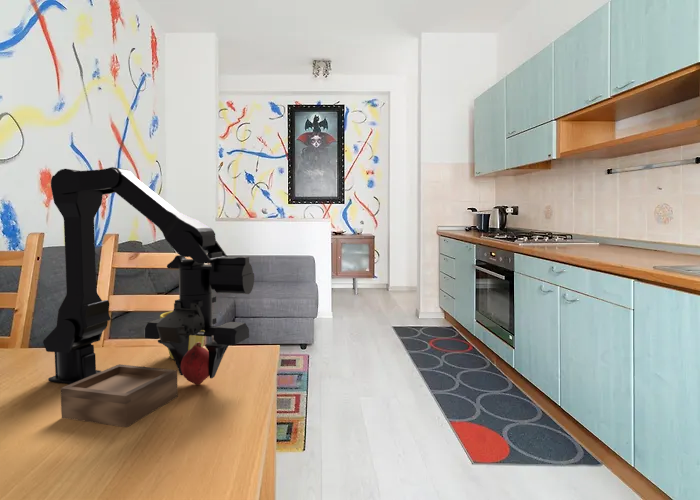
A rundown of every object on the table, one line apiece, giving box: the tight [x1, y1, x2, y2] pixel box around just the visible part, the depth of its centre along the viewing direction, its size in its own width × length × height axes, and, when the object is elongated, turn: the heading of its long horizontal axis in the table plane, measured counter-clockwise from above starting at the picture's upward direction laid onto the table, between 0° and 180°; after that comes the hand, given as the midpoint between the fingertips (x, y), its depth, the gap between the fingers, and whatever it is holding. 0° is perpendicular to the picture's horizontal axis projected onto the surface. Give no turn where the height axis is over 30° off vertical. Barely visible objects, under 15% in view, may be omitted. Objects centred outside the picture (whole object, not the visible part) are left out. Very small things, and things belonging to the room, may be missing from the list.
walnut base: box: [60, 363, 178, 428], centre depth 74 cm, size 12×12×5 cm
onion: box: [181, 342, 210, 386], centre depth 84 cm, size 6×6×8 cm
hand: (197, 376), depth 84 cm, fingers closed on onion, 6 cm apart
